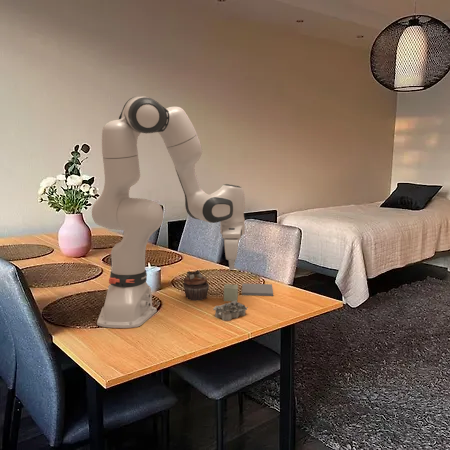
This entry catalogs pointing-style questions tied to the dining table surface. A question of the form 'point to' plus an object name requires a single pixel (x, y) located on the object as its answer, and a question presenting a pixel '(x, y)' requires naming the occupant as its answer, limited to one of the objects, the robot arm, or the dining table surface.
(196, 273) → the cupcake
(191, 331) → the dining table surface
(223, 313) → the egg carton
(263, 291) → the slate plate
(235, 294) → the cube
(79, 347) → the dining table surface
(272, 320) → the dining table surface
